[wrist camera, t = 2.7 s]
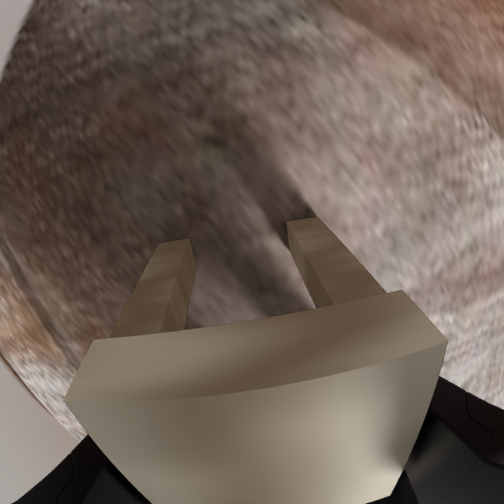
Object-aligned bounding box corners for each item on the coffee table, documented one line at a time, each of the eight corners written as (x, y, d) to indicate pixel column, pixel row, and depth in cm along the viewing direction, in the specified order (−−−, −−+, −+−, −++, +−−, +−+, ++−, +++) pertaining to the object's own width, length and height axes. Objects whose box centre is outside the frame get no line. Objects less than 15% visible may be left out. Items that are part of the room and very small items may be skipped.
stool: (322, 210, 12) (448, 340, 4) (329, 345, 14) (389, 495, 7) (152, 239, 12) (63, 400, 4) (192, 368, 14) (179, 527, 7)
